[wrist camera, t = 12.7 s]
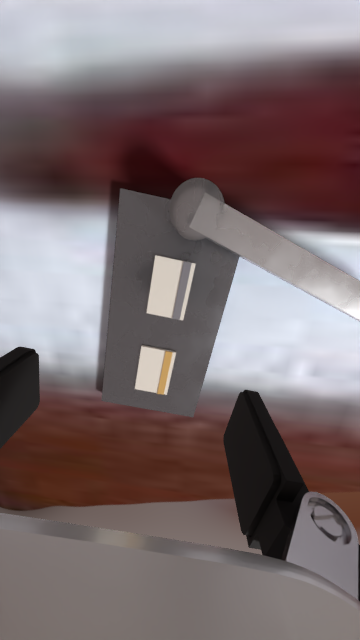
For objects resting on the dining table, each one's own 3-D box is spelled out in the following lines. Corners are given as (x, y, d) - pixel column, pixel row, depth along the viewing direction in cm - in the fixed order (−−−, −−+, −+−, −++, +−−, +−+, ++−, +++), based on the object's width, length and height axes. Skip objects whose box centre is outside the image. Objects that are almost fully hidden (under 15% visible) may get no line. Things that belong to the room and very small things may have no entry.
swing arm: (165, 227, 19) (160, 223, 16) (185, 182, 18) (184, 166, 14) (367, 335, 22) (404, 354, 19) (396, 303, 21) (442, 316, 17)
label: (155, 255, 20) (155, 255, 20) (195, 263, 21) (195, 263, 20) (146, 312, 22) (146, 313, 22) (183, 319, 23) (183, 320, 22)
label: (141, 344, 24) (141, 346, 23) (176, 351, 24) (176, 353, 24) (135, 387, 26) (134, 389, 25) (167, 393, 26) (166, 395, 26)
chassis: (123, 191, 20) (120, 188, 19) (247, 218, 20) (250, 217, 19) (105, 394, 28) (101, 400, 27) (192, 410, 28) (193, 417, 27)
